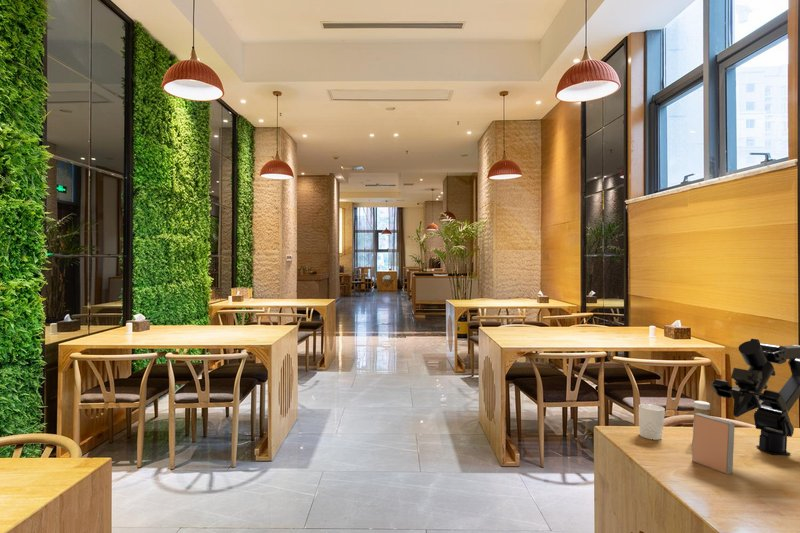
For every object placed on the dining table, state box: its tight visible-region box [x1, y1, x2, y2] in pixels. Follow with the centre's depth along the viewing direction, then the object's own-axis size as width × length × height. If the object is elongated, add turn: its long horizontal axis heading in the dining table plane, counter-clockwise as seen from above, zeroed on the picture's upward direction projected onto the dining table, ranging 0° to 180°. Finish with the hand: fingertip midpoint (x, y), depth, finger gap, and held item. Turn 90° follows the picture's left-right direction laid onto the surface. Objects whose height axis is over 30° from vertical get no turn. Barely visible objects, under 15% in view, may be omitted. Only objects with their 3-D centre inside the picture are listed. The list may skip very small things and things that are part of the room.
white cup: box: [638, 403, 666, 441], centre depth 169 cm, size 8×8×10 cm
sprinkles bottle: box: [691, 400, 711, 442], centre depth 164 cm, size 5×5×14 cm
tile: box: [691, 413, 736, 475], centre depth 144 cm, size 3×10×14 cm, turn 28°
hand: (735, 415), depth 149 cm, fingers closed
